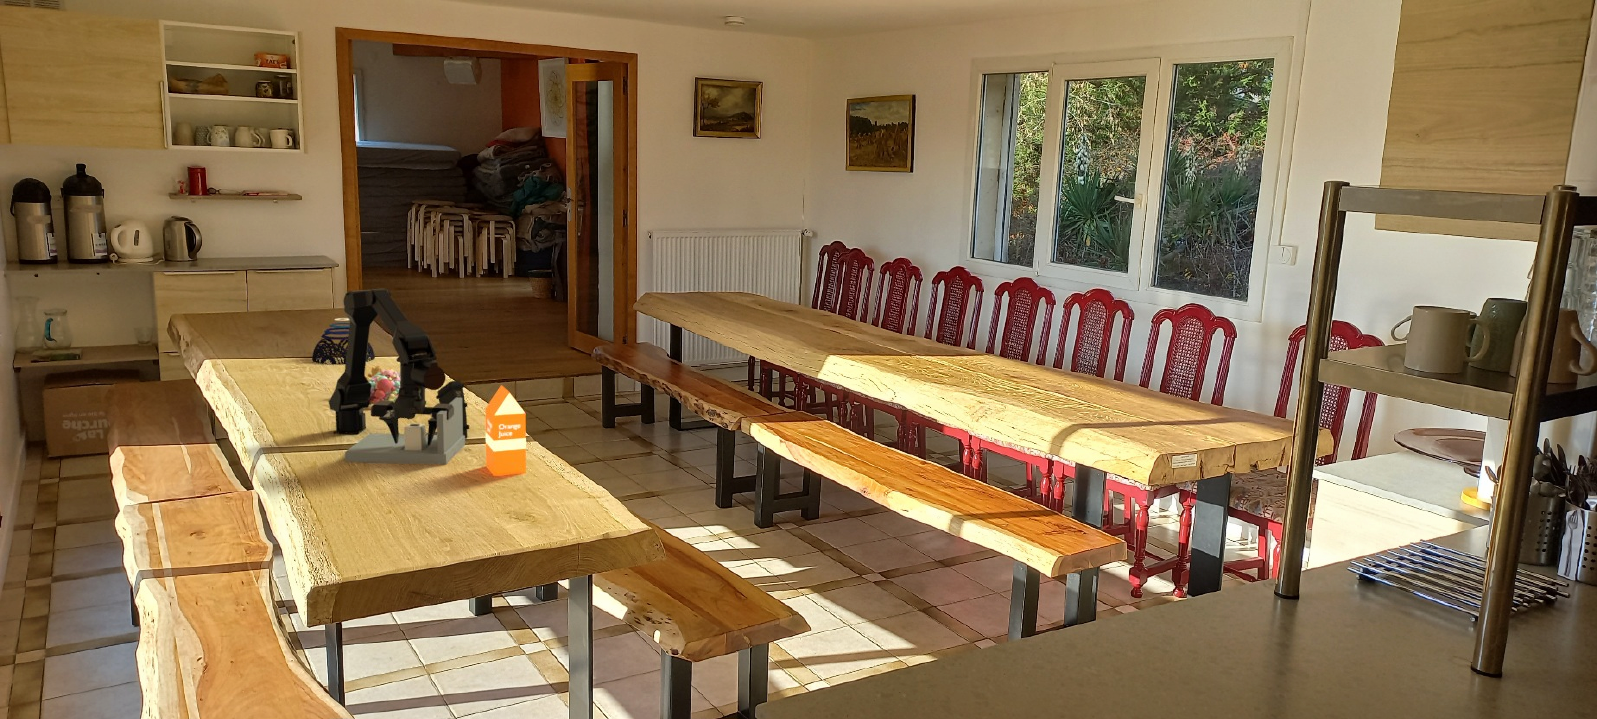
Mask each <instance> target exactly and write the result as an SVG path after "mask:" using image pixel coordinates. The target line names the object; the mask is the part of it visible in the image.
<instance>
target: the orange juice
mask: <svg viewBox="0 0 1597 719" xmlns="http://www.w3.org/2000/svg"><path fill="white" fill-rule="evenodd" d="M484 410H485V462H486V463H485V465H486V466H485V467H486V468H487V469H488V470H489V472H491V474H492V475H493V477H496V476H505V475H506V476H507V475H509V476H510V475H518V474H526V473H527V438H526V436H527V435H526V434H527V433H526V430H527V429H526V427H527V426H526V420H527V419H526V416H527V415H526V412H525V411H524V409H523V408H522V407H521V405H520V404H519V403H518V401H517V400H516V398H514V396H513V395H512V393H511V392H510V391H509V390H508V389H506V388H505V386H503V385H502V384H500V387H499V388H498V390H497V391H496V392H495V394H494V395H493V397H492V398H491V399H490V401H489V403H488V405H487V406H486V407H485V408H484Z"/></svg>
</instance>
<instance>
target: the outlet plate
mask: <svg viewBox="0 0 1597 719" xmlns="http://www.w3.org/2000/svg"><path fill="white" fill-rule="evenodd" d="M449 404H452V406H453V407H454V415H453V416H452V417H451V418H450V419H449V420H447V411H440V412H438V413H437V429H436V434H434V436H433V439H432V442H431V444H430V445H428V434H426V450H405V437H404V433H399V438H398V443H397V444H395V442H394V439H393V437H392V434H391V433H377V432H376V433H373V432H370V433H368V434H367V435H366V436H365V437H363V438H362V439H361V440H359V441H358V442H356V443H355V444H354V445H353V446H351V447H350V448H349V449H347V450H346V451H345V452H344V457H345V458H344V461H345V463H371V464H372V463H375V464H411V465H412V464H417V465H418V464H421V465H447V464H448V463H449V462H451V460H452V459H453V458H455V456H456V455H457V454H458V453H459V452H460V451H461V450H462V449H463V448H464V447H465V446H466V439H465V436H463V412H462V398H455V399H454V400H453V401H452V402H450V403H449Z"/></svg>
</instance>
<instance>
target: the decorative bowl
mask: <svg viewBox="0 0 1597 719" xmlns="http://www.w3.org/2000/svg"><path fill="white" fill-rule="evenodd" d="M334 321H337V322H336V323H335V322H334V323H331V324H329V327H330V328H326V329H325V330H324V331H323V333H322V335H321V336H320V337H321V339H320V340H319V341H318V342H317V343H316V345H315V347H314V349H313V352H312V361H313V363H317V364H322V365H329V363H326V362H327V361H329V362H330V365H345V364H346V355H347V345H346V344H348V336H342V335H349V326H350V322H345V321H350V320H349V318H348V317H339V318H334ZM343 321H344V322H343ZM329 335H338V336H329ZM340 335H341V336H340ZM334 340H336V341H338V340H339V342H338V343H335V342H334ZM345 345H346V346H345ZM344 347H345V348H344ZM375 355H376V354H375V352H374V349H373V346H372V345H371V343H370V341H368V348H367V357H366V363H368V362H371V361H374V360H375V358H376V356H375ZM369 358H370V360H369Z"/></svg>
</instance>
